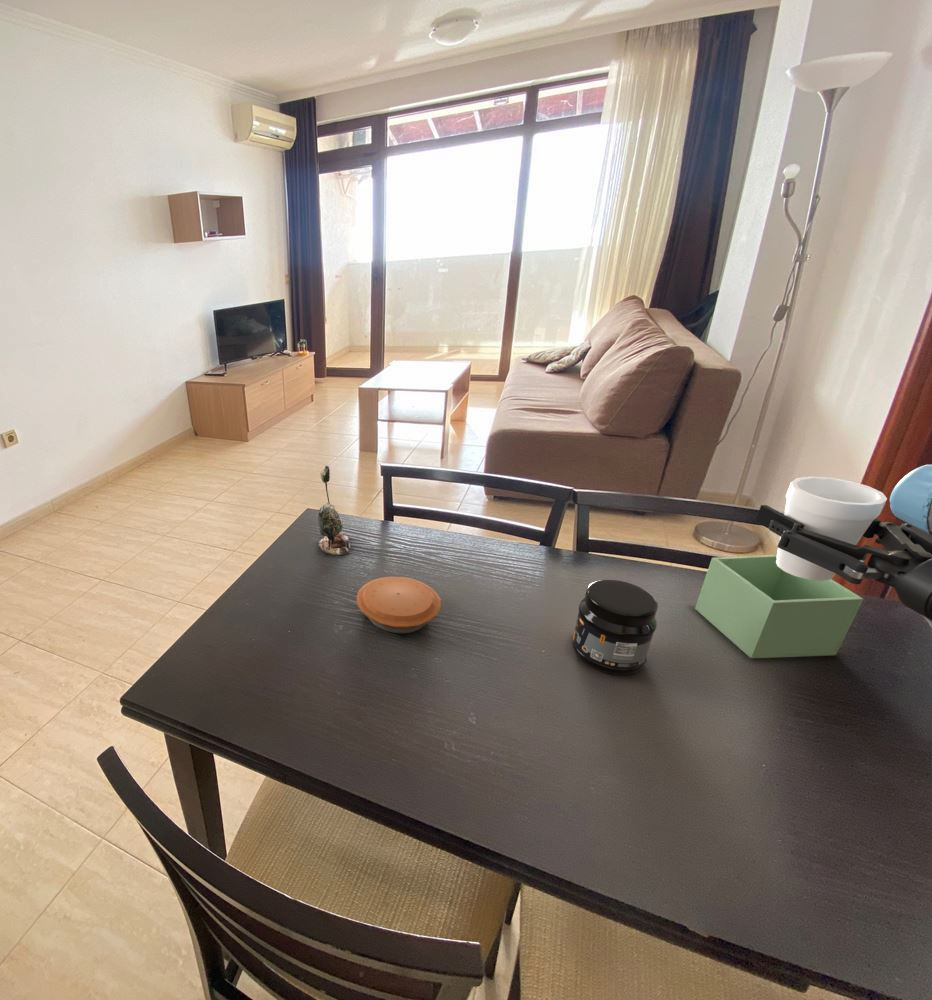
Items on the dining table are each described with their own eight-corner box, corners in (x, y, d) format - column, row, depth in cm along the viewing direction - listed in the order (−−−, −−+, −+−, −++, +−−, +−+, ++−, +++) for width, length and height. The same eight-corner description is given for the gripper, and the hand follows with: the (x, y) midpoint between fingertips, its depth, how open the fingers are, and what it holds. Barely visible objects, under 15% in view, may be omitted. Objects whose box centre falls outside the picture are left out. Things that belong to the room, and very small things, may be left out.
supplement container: (597, 627, 96) (611, 570, 90) (659, 663, 87) (678, 602, 82) (556, 647, 92) (568, 589, 87) (616, 687, 83) (633, 625, 78)
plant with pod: (308, 557, 124) (304, 477, 115) (325, 534, 133) (323, 459, 124) (342, 563, 121) (340, 482, 112) (357, 539, 130) (357, 462, 121)
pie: (369, 585, 112) (369, 564, 110) (446, 600, 106) (447, 579, 104) (346, 630, 100) (345, 608, 98) (431, 650, 93) (433, 627, 91)
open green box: (769, 605, 97) (790, 553, 93) (836, 655, 86) (863, 599, 81) (694, 608, 98) (711, 557, 93) (750, 658, 86) (773, 602, 82)
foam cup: (778, 546, 86) (806, 471, 80) (858, 571, 79) (896, 490, 73) (751, 566, 82) (780, 489, 76) (834, 594, 74) (872, 511, 69)
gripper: (852, 631, 63) (712, 536, 83) (1053, 621, 62) (862, 528, 82) (878, 577, 60) (726, 493, 80) (1091, 566, 59) (883, 483, 79)
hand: (795, 510), depth 81 cm, fingers closed on foam cup, 9 cm apart
